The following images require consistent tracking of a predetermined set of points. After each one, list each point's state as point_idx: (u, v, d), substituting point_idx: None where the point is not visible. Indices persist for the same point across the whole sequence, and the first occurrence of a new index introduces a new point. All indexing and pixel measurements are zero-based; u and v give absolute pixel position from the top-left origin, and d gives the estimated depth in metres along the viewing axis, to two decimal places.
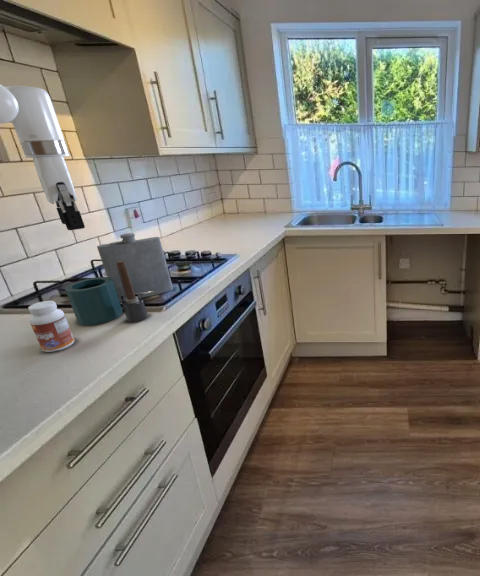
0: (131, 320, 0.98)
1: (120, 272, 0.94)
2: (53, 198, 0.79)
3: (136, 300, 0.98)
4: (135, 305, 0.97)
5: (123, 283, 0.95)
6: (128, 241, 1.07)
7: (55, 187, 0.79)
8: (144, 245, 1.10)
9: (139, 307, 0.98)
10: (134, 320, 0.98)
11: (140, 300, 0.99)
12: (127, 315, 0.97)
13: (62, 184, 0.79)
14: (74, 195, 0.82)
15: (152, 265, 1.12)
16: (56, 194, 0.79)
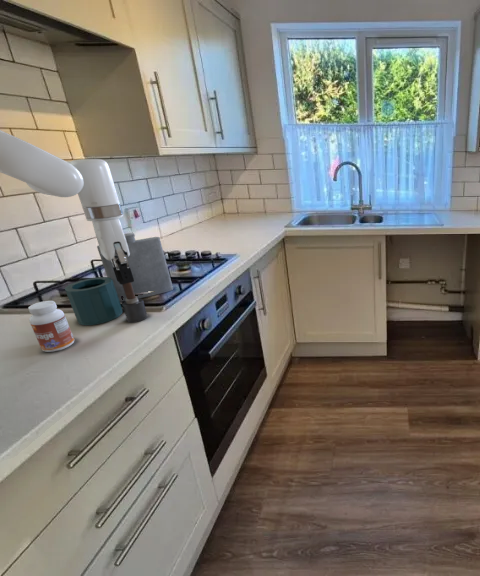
0: (131, 320, 0.98)
1: None
2: (110, 256, 0.88)
3: (136, 300, 0.98)
4: (135, 305, 0.97)
5: None
6: (128, 241, 1.07)
7: (112, 246, 0.88)
8: (144, 245, 1.10)
9: (139, 307, 0.98)
10: (134, 320, 0.98)
11: (140, 300, 0.99)
12: (127, 315, 0.97)
13: (119, 247, 0.89)
14: (128, 252, 0.91)
15: (152, 265, 1.12)
16: (113, 252, 0.88)
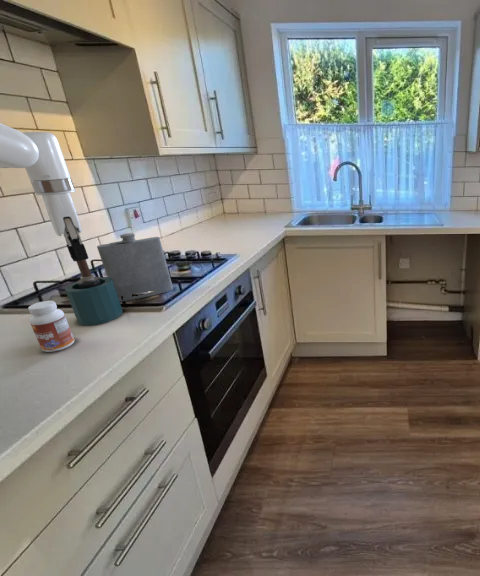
0: None
1: None
2: (60, 231, 0.87)
3: (91, 278, 0.97)
4: (90, 283, 0.96)
5: None
6: (128, 241, 1.07)
7: (62, 221, 0.87)
8: (144, 245, 1.10)
9: (95, 285, 0.97)
10: None
11: (96, 278, 0.98)
12: None
13: (70, 222, 0.88)
14: (79, 227, 0.90)
15: (152, 265, 1.12)
16: (63, 227, 0.87)
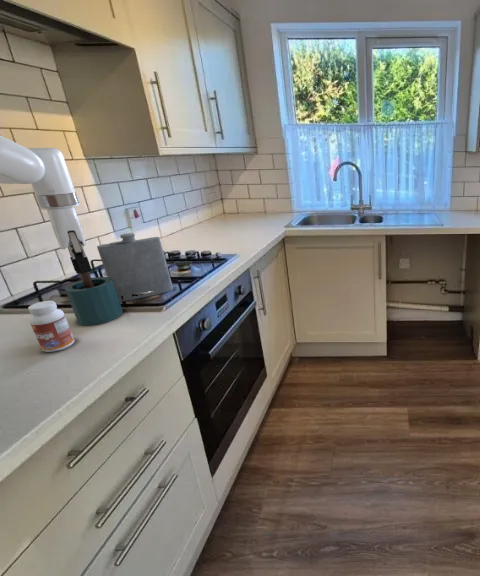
0: None
1: None
2: (64, 245, 0.88)
3: None
4: None
5: None
6: (128, 241, 1.07)
7: (66, 235, 0.88)
8: (144, 245, 1.10)
9: None
10: None
11: None
12: None
13: (74, 236, 0.89)
14: (83, 241, 0.91)
15: (152, 265, 1.12)
16: (67, 241, 0.88)
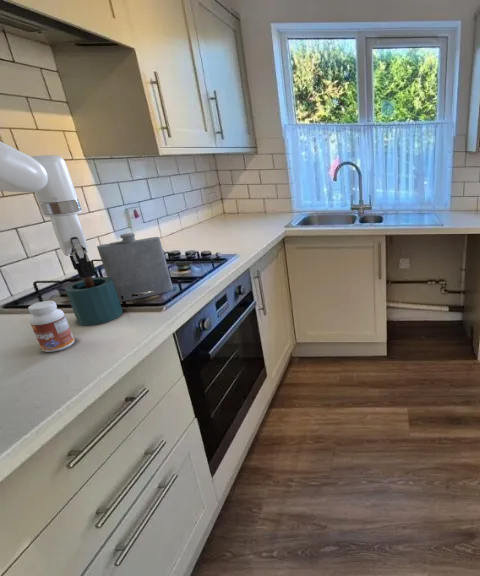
0: None
1: None
2: (67, 251, 0.89)
3: None
4: None
5: (84, 279, 0.96)
6: (128, 241, 1.07)
7: (69, 242, 0.89)
8: (144, 245, 1.10)
9: None
10: None
11: None
12: None
13: (75, 239, 0.89)
14: (86, 247, 0.91)
15: (152, 265, 1.12)
16: (70, 248, 0.89)
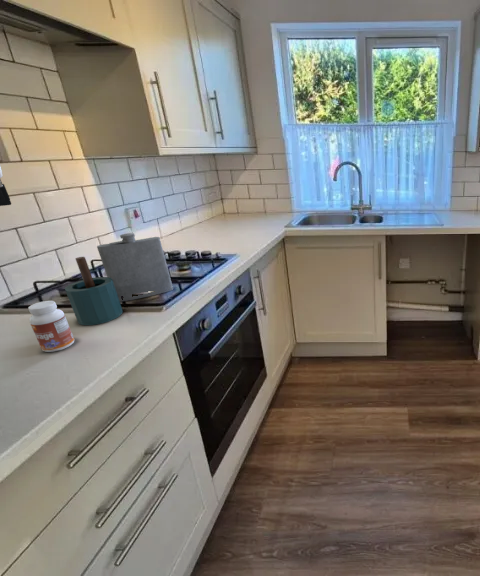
0: None
1: (80, 268, 0.95)
2: None
3: None
4: None
5: (84, 279, 0.96)
6: (128, 241, 1.07)
7: None
8: (144, 245, 1.10)
9: None
10: None
11: None
12: None
13: None
14: None
15: (152, 265, 1.12)
16: None
